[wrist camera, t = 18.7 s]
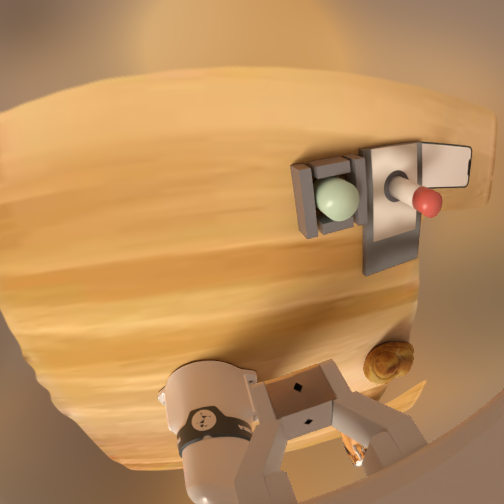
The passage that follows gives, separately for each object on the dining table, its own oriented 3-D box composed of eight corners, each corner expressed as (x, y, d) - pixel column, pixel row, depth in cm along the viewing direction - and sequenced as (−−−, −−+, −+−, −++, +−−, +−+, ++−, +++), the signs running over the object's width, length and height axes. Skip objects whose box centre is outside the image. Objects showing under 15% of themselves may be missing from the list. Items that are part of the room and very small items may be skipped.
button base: (356, 214, 42) (367, 222, 39) (299, 230, 41) (307, 239, 38) (352, 153, 37) (364, 157, 35) (290, 165, 36) (298, 170, 34)
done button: (345, 205, 40) (360, 216, 37) (312, 214, 40) (325, 225, 36) (342, 171, 38) (358, 178, 34) (308, 178, 37) (321, 186, 34)
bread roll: (413, 331, 59) (433, 355, 52) (397, 362, 63) (414, 385, 56) (368, 340, 56) (387, 368, 49) (353, 373, 60) (369, 400, 53)
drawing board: (413, 255, 48) (418, 258, 47) (362, 273, 47) (366, 277, 46) (417, 141, 38) (423, 142, 37) (358, 149, 37) (363, 150, 36)
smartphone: (406, 189, 42) (466, 186, 45) (408, 190, 42) (468, 187, 45) (410, 139, 39) (470, 145, 41) (412, 140, 38) (472, 146, 41)
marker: (405, 195, 41) (441, 214, 34) (388, 199, 40) (423, 220, 33) (405, 173, 39) (442, 189, 32) (387, 177, 39) (424, 194, 32)
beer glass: (360, 408, 69) (384, 451, 56) (345, 423, 72) (366, 465, 59) (342, 409, 67) (366, 455, 54) (326, 424, 69) (347, 469, 56)
